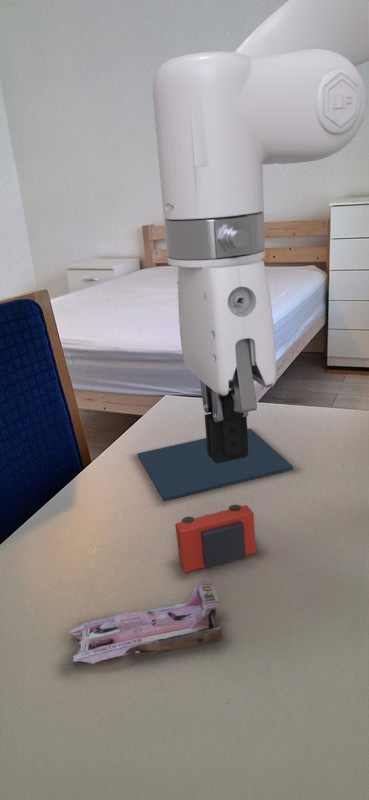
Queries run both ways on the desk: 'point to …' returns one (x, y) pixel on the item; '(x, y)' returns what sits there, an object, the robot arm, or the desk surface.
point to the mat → (208, 467)
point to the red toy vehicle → (215, 538)
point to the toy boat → (151, 629)
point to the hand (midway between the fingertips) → (227, 456)
